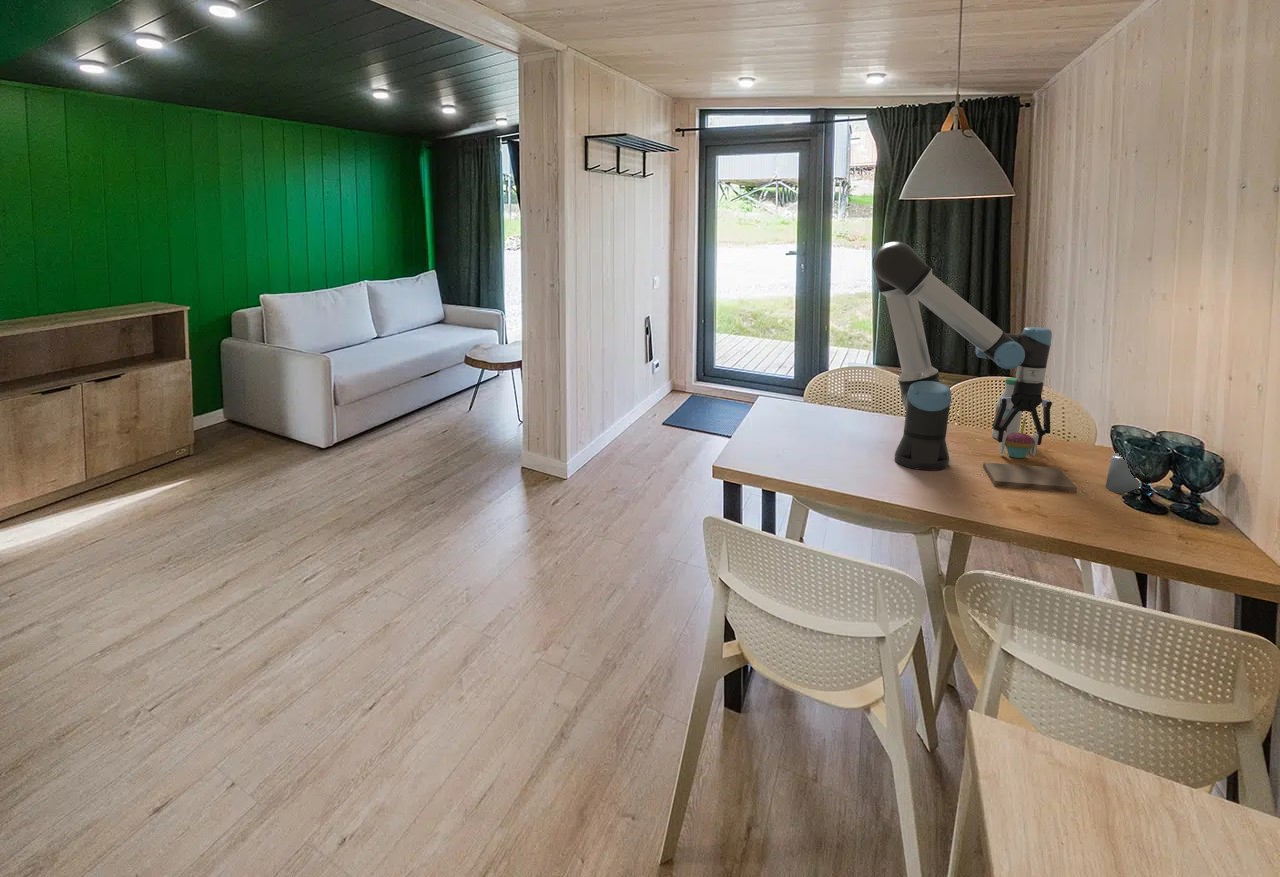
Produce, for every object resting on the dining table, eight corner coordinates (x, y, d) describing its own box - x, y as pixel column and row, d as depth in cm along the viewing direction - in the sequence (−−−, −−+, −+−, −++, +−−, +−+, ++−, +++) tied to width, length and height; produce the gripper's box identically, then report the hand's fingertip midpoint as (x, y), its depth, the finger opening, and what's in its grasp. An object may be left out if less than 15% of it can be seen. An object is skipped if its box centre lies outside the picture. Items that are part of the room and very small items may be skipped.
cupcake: (1005, 449, 225) (1011, 412, 222) (1035, 455, 220) (1042, 417, 217) (998, 456, 219) (1004, 418, 215) (1029, 462, 214) (1036, 423, 210)
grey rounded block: (1111, 493, 190) (1118, 461, 188) (1101, 483, 198) (1107, 452, 195) (1145, 496, 189) (1153, 463, 186) (1133, 485, 196) (1140, 454, 193)
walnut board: (994, 486, 196) (995, 480, 195) (982, 467, 210) (983, 462, 210) (1076, 492, 191) (1077, 487, 190) (1058, 472, 206) (1059, 468, 205)
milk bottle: (1012, 435, 242) (1021, 376, 236) (1021, 441, 234) (1031, 381, 228) (988, 434, 242) (996, 376, 236) (996, 441, 235) (1005, 381, 229)
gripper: (993, 380, 212) (982, 454, 218) (1072, 385, 207) (1058, 460, 213) (988, 375, 218) (977, 446, 225) (1064, 379, 214) (1051, 452, 220)
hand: (1016, 453), depth 219 cm, fingers closed on cupcake, 8 cm apart
